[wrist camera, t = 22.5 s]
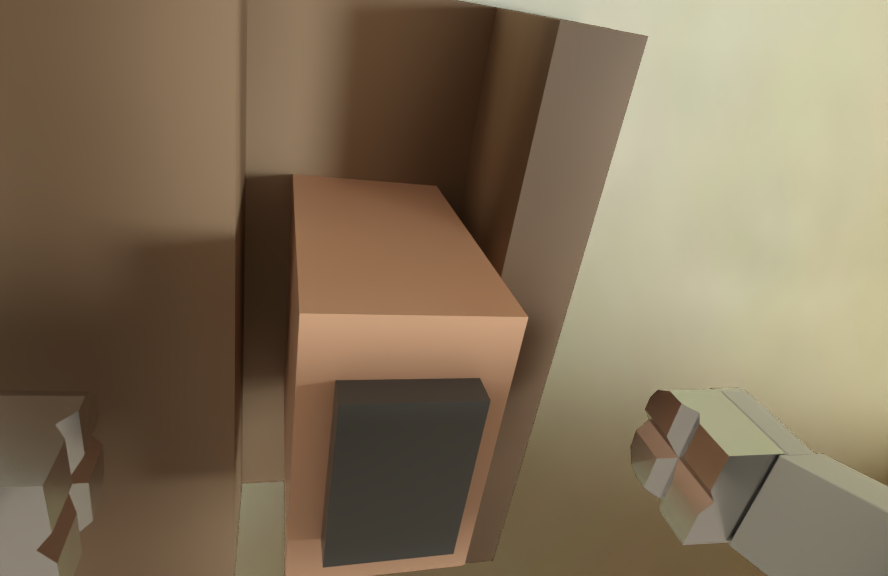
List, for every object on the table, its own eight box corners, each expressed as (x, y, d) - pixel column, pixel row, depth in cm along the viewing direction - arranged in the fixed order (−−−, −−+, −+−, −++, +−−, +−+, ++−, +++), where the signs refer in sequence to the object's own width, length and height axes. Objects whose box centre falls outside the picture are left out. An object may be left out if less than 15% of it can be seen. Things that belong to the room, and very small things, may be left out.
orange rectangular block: (436, 185, 13) (542, 337, 7) (406, 375, 15) (472, 591, 10) (293, 174, 12) (300, 335, 7) (284, 377, 14) (284, 615, 9)
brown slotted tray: (579, 22, 13) (702, 46, 9) (478, 433, 18) (530, 556, 15) (-593, -192, 8) (-1402, -338, 4) (-264, 464, 13) (-483, 664, 9)
